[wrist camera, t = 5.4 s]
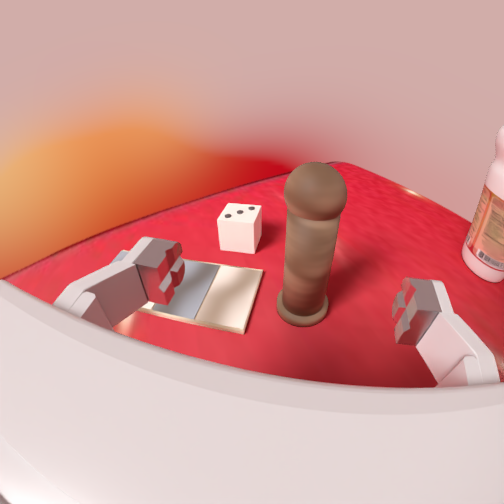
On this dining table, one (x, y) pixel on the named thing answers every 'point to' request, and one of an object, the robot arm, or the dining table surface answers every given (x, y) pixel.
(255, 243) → the die
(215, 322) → the board
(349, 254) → the dining table surface
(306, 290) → the pawn
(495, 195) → the fruit juice
